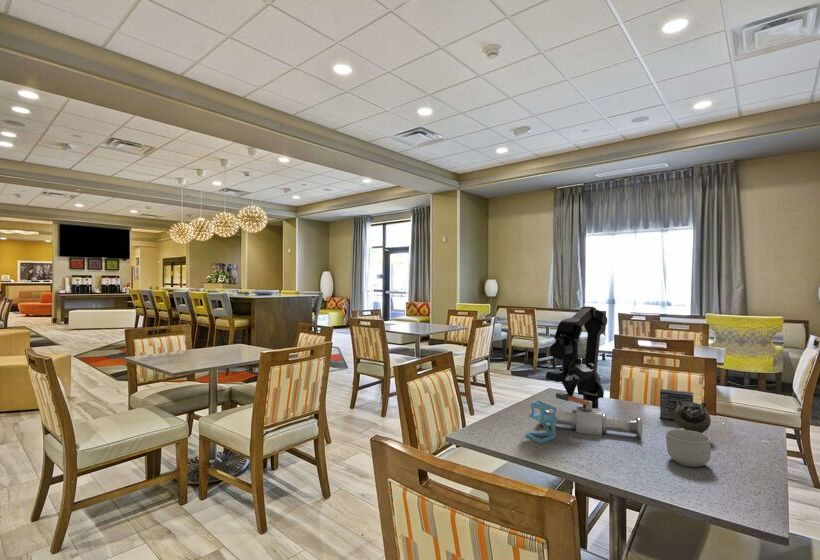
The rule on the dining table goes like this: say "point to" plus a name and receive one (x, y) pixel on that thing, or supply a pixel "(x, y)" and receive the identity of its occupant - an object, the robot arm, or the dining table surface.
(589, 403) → the valve lever
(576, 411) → the valve manifold
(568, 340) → the robot arm
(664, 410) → the small box
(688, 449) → the teacup
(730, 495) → the dining table surface
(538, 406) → the chair
